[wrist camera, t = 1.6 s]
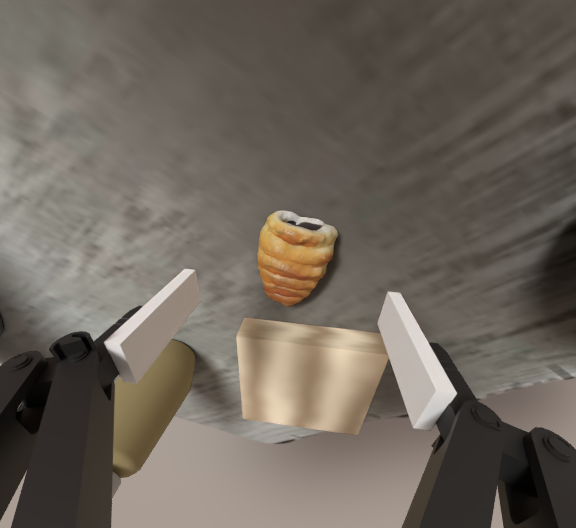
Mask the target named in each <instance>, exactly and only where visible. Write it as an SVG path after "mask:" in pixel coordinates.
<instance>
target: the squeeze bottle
mask: <svg viewBox="0 0 576 528" xmlns="http://www.w3.org/2000/svg"><path fill="white" fill-rule="evenodd" d="M195 361H196V357H195V354H194V352H193V351H192V350H191V349H190V348H189V347H188V346H186V345H185V344H183V343H181V342H179V341H176V340H172V339H171V341H170V342H169V343H168V344H167V346H166V347H165V348H164V350H163V351H162V352H161V354H160V355H159V356H158V357H157V359H156V360H155V361H154V363H153V364H152V365H151V367H150V368H149V369H148V370H147V372H146V373H145V374H144V376H143V377H142V378H141V380H140V381H139V382H138V383H137V384H134V383H128V382H123V381H122V379H121V377H119V378H118V379H117V381H116V382H115V403H114V439H113V475H112V498H113V496H114V494H115V493H116V491H117V489H118V487H119V485H120V484H121V479H120V478H123V477H129V476H131V475H133V474H135V473H136V472H137V471H139V470H140V469H141V467H142V466H143V464H144V463H145V461H146V459H147V458H148V456H149V455H150V453H151V452H152V450H153V448H154V447H155V445H156V443H157V442H158V440H159V439H160V437H161V436H162V434H163V432H164V431H165V429H166V428H167V426H168V425H169V423H170V421H171V420H172V418H173V417H174V415H175V414H176V412H177V410H178V409H179V407H180V406H181V404H182V402H183V401H184V399H185V398H186V396H187V394H188V393H189V391H190V389H191V384H192V378H193V372H194V367H195Z"/></svg>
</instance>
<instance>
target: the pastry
mask: <svg viewBox="0 0 576 528" xmlns="http://www.w3.org/2000/svg"><path fill="white" fill-rule="evenodd" d="M337 237H338V232H337V230H336V229H335V227H333V226H329V225H326V224H325V223H324V222H323V221H321V220H318V219H315V218H307V217H299V216H297V214H295V213H293V212H289V211H285V210H282V211H277V212H274V213H273V214H271V215H270V216H269V217H268V218H267V222H266V224H265V225H264V227H263V228H262V230H261V232H260V236H259V238H260V239H259V251H258V255H257V258H258V268H259V270H260V277H261V278H262V281H263V286H264V291H265V293H266V295H267V296H268V297H269V298H271V299H272V300H274V301H277V302H279V303H282V304H283V305H285V306H291V305H293V304H297V303H299V302H300V301H301V300H302V299H303V298H306V297H307V296H308V295H310V293H311V291H312V289H313V288H315V287H316V285H317V283H318V281H319V280H320V279H321V278H323V276H324V274H325V273H326V269H327V264H328V262H330V260H331V259H332V257H333V251H334V243H335V240H336V238H337Z"/></svg>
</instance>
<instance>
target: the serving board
mask: <svg viewBox="0 0 576 528" xmlns="http://www.w3.org/2000/svg"><path fill="white" fill-rule="evenodd" d="M237 350H238V362H239V375H240V388H241V401H242V414H243V419H249V420H256V421H263V422H270V423H276V424H283V425H290V426H297V427H304V428H311V429H317V430H324V431H331V432H338V433H346V434H352V435H358V434H359V431H360V429H361V426H362V424H363V421H364V419H365V416H366V414H367V411H368V409H369V406H370V404H371V401H372V399H373V396H374V394H375V391H376V389H377V387H378V384H379V382H380V379H381V377H382V374H383V372H384V369H385V367H386V364H387V362H388V359H389V356H388V353H387V350H386V347H385V344H384V341H383V338H382V335H381V333H374V332H366V331H357V330H348V329H340V328H331V327H322V326H314V325H305V324H296V323H288V322H279V321H270V320H262V319H253V318H244V320H243V322H242V324H241V327H240V329H239V332H238V334H237Z"/></svg>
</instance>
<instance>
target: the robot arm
mask: <svg viewBox="0 0 576 528" xmlns="http://www.w3.org/2000/svg"><path fill="white" fill-rule="evenodd" d="M200 302H201V301H200V295H199V289H198V283H197V277H196V271H195V270H191V269H184V270H183V271H182V272H181V273H180V274H179V275H177V276H176V277H175V278H174V279H173V280H172V281H171V282H170V283H169V284H167V285H166V286H165V287H164V288H163V289H162V290H161V291H160V292H159V293H158V294H156V295H155V296H154V297H153V298H152V299H151V300H150V301H149V302H148V303H146V304H145V305H144V306H138V307H136V308H134V309H132V310H130V311H129V312H128V313H126V314H125V315H124V316H123V317H122V319H120V320H118V321H117V322H116V324H114V325H113V326H111V327H110V328H109V329H108V330H107V331H106V332H104V333H103V334H102V335H101V336H100V337H99V338H97V339H96V340H95V341H94V342H93V340H92V338H91V336H90V334H89V333H87V332H81V331H80V332H74V333H71V334H68V335H66V336H64V337H62V338H60V339H58V340H57V341H56V342H54V343H53V344H52V345H51V347H50V348H49V350H50V352H51V353H52V355H53V356H54V357H52V358H44V357H43V355H42V354H41V352H38V351H29V352H26V353H22V354H20V355H17V356H15V357H13V358H11V359H9V360H8V361H6V362H5V363H3V364H2V365H1V366H0V520H1V518H2V516H3V515H4V512H5V511H6V509H7V507H8V504H9V503H10V501H11V499H12V497H13V495H14V494H15V492H16V490H17V488H18V486H19V484H20V482H21V480H22V478H23V476H24V474H25V473H26V471H27V473H26V476H25V480H24V484H23V487H22V490H21V494H20V498H19V501H18V505H17V508H16V512H15V515H14V519H13V522H12V526H11V528H111V511H112V475H113V439H114V403H115V384H114V381H113V380H114V379H115V378H116V377H117V376H118V375H120V377H121V379H122V381H123V382H128V383H134V384H137V383H138V382H139V381H140V380H141V378H142V377H143V376H144V374H145V373H146V372H147V370H148V369H149V368H150V367H151V365H152V364H153V363H154V361H155V360H156V359H157V357H158V356H159V355H160V354H161V352H162V351H163V350H164V348H165V347H166V346H167V344H168V343H169V342H170V341H171V339H172V338H173V337H174V335H175V334H176V333H177V331H178V330H179V329H180V328H181V326H182V325H183V324H184V322H185V321H186V320H187V318H188V317H189V316H190V315H191V313H192V312H193V311H194V309H195V308H196V307H197V305H198V304H199V303H200ZM378 326H379V329H380V332H381V335H382V338H383V341H384V344H385V347H386V350H387V353H388V356H389V359H390V362H391V365H392V368H393V371H394V374H395V377H396V379H397V382H398V385H399V388H400V391H401V394H402V397H403V400H404V403H405V406H406V409H407V412H408V415H409V418H410V421H411V423H412V426H413V428H416V429H422V430H429V431H431V430H432V429H433V427H434V426H435V425H436V424H437V427H438V429H439V431H440V435H439V437H438V438H437V439H436V440H435V442H434V443H433V445H432V447H433V451H432V453H431V456H430V458H429V461H428V463H427V466H426V468H425V471H424V473H423V476H422V478H421V481H420V483H419V486H418V488H417V491H416V493H415V496H414V498H413V501H412V503H411V506H410V508H409V511H408V513H407V516H406V518H405V521H404V523H403V526H402V528H491V521H492V515H493V509H494V502H495V496H496V489H497V485H498V492H499V499H500V506H501V512H502V519H503V526H504V528H576V449H574V447H573V446H572V445H571V444H569V443H568V442H567V441H566V440H564V439H563V438H562V437H560V436H559V435H557V434H555V433H554V432H552V431H550V430H547V429H544V428H536V427H535V428H534V429H532V430H531V431H530V432H529V433H528V432H526V431H523V430H521V429H518V428H516V427H514V426H511V425H509V424H507V423H504V422H502V421H501V419H500V418H499V417H498V416H497V415H496V414H495V412H494V411H492V410H491V409H490V408H488V407H487V406H486V405H484V404H482V403H480V402H478V401H477V399H476V398H475V396H474V394H473V393H472V391H471V390H470V388H469V387H468V385H467V383H466V382H465V380H464V379H463V377H462V375H461V374H460V372H459V371H457V368H456V366H455V364H454V363H453V361H452V360H451V358H450V357H449V355H448V353H447V352H446V351H445V350H444V349H443V348H442V347H441V346H440V345H439V344H437V343H429V342H428V341H427V340H426V338H425V336H424V334H423V332H422V331H421V329H420V327H419V325H418V324H417V322H416V320H415V318H414V317H413V315H412V313H411V311H410V310H409V308H408V306H407V304H406V303H405V301H404V299H403V297H402V295H401V294H400V293H396V292H388V293H387V296H386V299H385V302H384V305H383V308H382V311H381V314H380V317H379V320H378ZM2 331H3V323H2V320H1V317H0V335H1V334H2ZM20 404H21V405H20ZM19 405H20V406H19ZM18 407H19V408H18Z"/></svg>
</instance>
